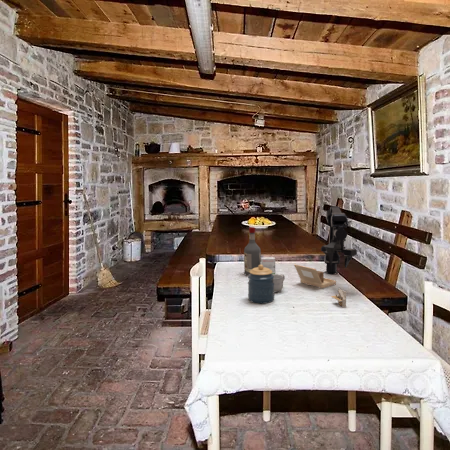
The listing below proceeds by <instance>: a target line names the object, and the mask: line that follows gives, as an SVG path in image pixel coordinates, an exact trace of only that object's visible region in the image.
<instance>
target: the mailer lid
mask: <svg viewBox="0 0 450 450" xmlns="http://www.w3.org/2000/svg"><path fill="white" fill-rule="evenodd" d="M294 268H295V270H296V272H297V274H298V277H299V279H303V280H307V281H310V282H314V283H318V284H322V282H321V280H320V277H319V275H318V273H317V271H318V270H317V269H316V268H313V267H310V266H309V267H308V266H306V265H305V266H304V265H299V264H295V263H294Z"/></svg>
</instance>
